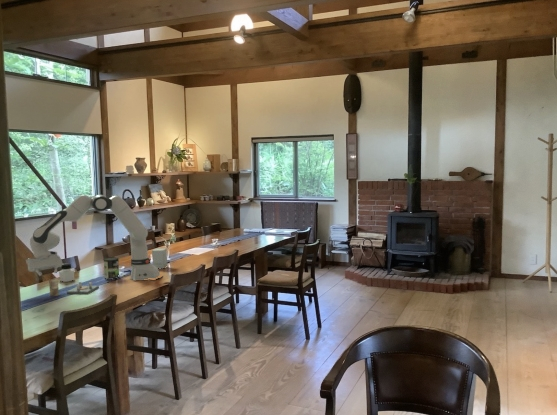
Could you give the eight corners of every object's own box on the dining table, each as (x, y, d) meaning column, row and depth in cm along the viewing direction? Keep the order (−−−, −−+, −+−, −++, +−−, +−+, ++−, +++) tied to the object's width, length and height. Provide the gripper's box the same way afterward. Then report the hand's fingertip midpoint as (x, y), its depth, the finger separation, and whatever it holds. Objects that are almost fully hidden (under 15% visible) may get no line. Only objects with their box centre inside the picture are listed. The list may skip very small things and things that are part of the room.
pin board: (98, 288, 309) (98, 280, 309) (87, 294, 295) (87, 286, 295) (78, 287, 311) (78, 280, 310) (67, 293, 297) (66, 285, 296)
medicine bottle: (74, 280, 332) (73, 263, 331) (65, 282, 326) (64, 265, 325) (68, 278, 336) (67, 262, 334) (59, 281, 330) (58, 264, 328)
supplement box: (167, 266, 369) (167, 248, 368) (163, 269, 360) (163, 250, 359) (156, 266, 370) (155, 248, 369) (152, 269, 361) (151, 250, 360)
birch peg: (60, 294, 296) (59, 278, 295) (55, 296, 291) (54, 280, 290) (53, 294, 296) (52, 278, 295) (48, 296, 291) (47, 280, 290)
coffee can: (122, 276, 340) (121, 257, 339) (114, 279, 330) (113, 260, 329) (109, 275, 342) (108, 257, 341) (101, 279, 332) (100, 259, 331)
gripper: (25, 256, 295) (31, 273, 289) (59, 251, 310) (65, 268, 304) (24, 262, 299) (29, 279, 293) (57, 257, 313) (63, 273, 307)
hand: (48, 273), depth 299 cm, fingers open, 8 cm apart
